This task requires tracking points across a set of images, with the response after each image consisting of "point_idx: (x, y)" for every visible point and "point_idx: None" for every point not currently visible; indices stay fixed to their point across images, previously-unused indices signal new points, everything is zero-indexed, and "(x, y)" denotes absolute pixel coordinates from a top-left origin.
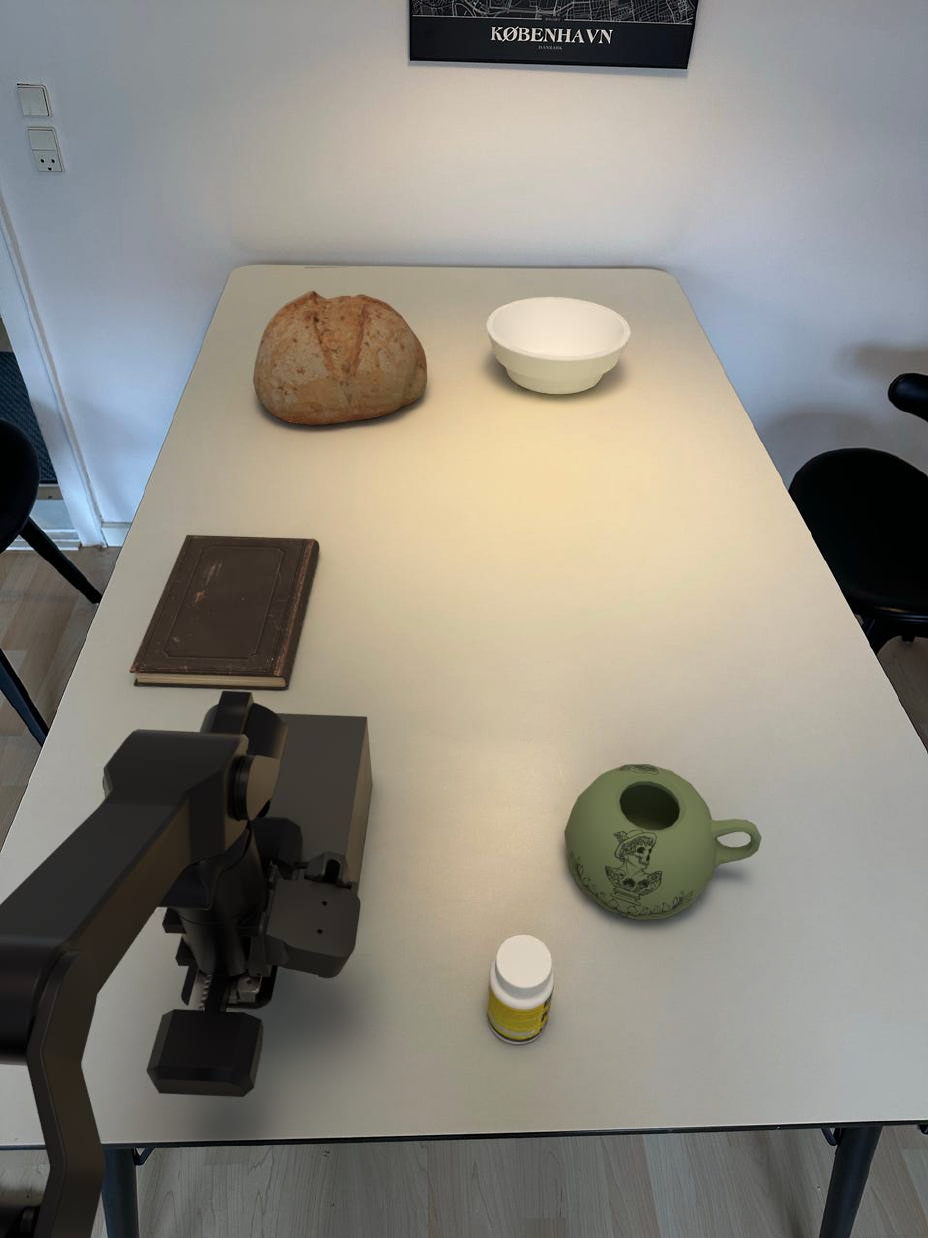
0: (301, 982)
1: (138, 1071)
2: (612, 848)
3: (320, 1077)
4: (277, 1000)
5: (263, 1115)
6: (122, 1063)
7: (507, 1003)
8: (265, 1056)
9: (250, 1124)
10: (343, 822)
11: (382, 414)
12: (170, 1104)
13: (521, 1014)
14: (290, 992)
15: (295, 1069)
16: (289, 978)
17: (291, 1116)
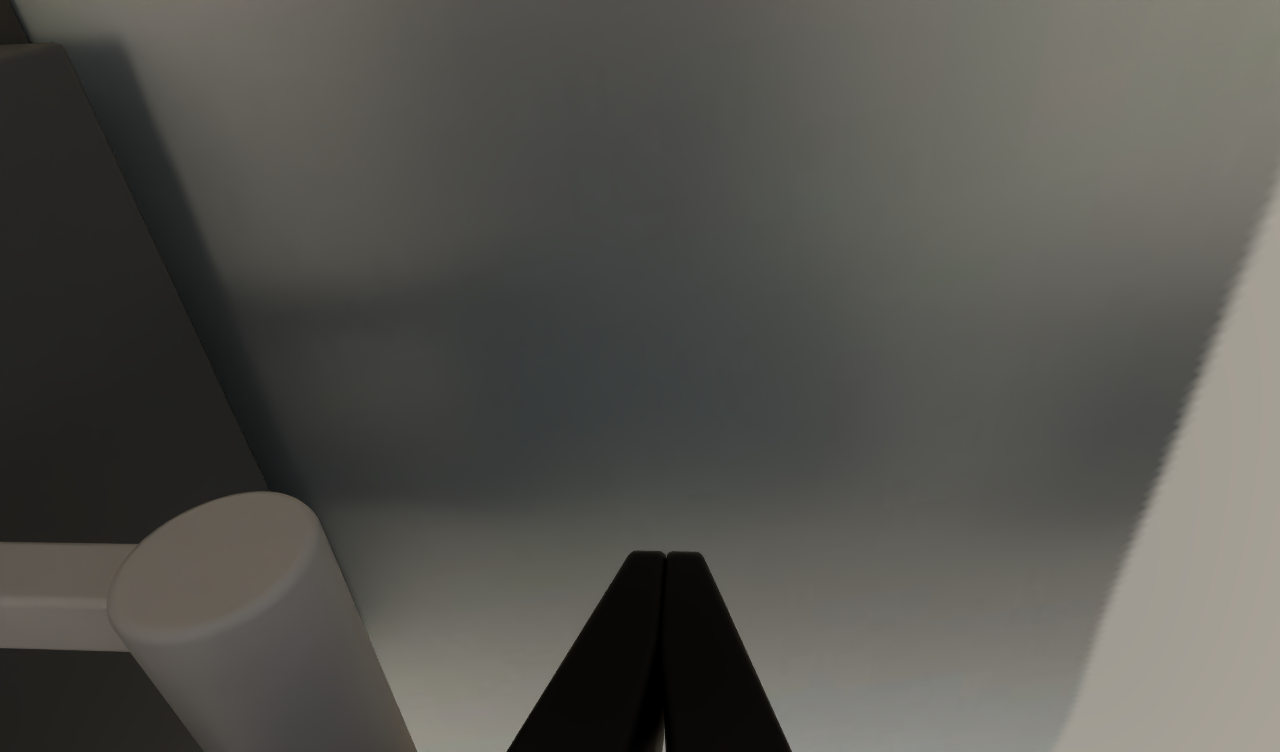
0: (448, 242)
1: (869, 696)
2: None
3: (1012, 16)
4: (566, 339)
5: (1153, 299)
6: (838, 729)
7: None
8: (849, 342)
9: (1179, 348)
10: None
11: None
12: (1003, 612)
13: None
14: (514, 287)
15: (937, 184)
16: (443, 305)
17: (1209, 155)
